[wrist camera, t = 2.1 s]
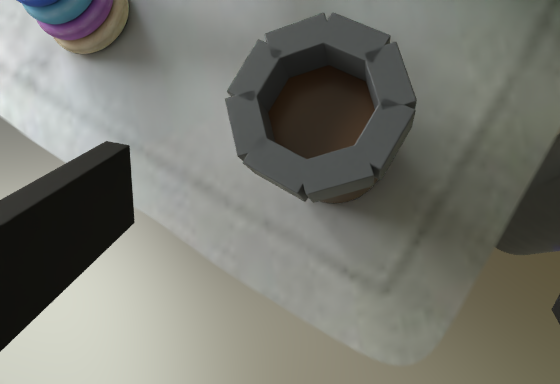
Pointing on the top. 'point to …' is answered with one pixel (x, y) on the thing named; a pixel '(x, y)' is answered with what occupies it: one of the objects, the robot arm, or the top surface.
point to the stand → (322, 115)
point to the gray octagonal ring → (306, 57)
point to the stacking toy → (80, 21)
